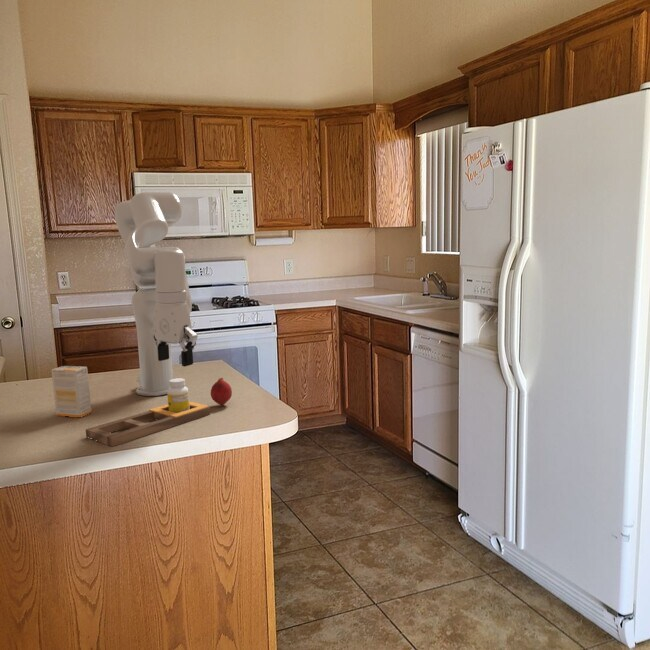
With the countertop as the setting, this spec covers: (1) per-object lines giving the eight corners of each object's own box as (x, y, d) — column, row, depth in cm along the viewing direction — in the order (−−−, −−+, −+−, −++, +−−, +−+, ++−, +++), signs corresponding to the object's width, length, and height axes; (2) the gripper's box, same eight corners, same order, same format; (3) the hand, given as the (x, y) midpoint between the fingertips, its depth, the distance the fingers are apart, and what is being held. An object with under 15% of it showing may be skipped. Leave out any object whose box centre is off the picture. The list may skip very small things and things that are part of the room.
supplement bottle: (170, 413, 161) (168, 377, 159) (191, 412, 161) (189, 377, 160) (167, 419, 156) (164, 382, 154) (188, 418, 156) (186, 381, 154)
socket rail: (86, 437, 143) (85, 428, 143) (183, 407, 166) (182, 399, 166) (112, 446, 137) (111, 436, 136) (209, 414, 159) (209, 405, 159)
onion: (228, 408, 164) (226, 380, 162) (208, 408, 165) (206, 379, 164) (235, 402, 169) (233, 375, 168) (216, 402, 170) (214, 374, 169)
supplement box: (92, 413, 163) (88, 366, 161) (80, 418, 159) (75, 370, 157) (68, 411, 166) (63, 364, 164) (55, 416, 162) (50, 368, 160)
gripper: (138, 296, 156) (143, 360, 159) (181, 302, 145) (185, 370, 149) (162, 293, 162) (166, 355, 165) (205, 298, 151) (208, 364, 155)
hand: (175, 362), depth 157 cm, fingers open, 9 cm apart
